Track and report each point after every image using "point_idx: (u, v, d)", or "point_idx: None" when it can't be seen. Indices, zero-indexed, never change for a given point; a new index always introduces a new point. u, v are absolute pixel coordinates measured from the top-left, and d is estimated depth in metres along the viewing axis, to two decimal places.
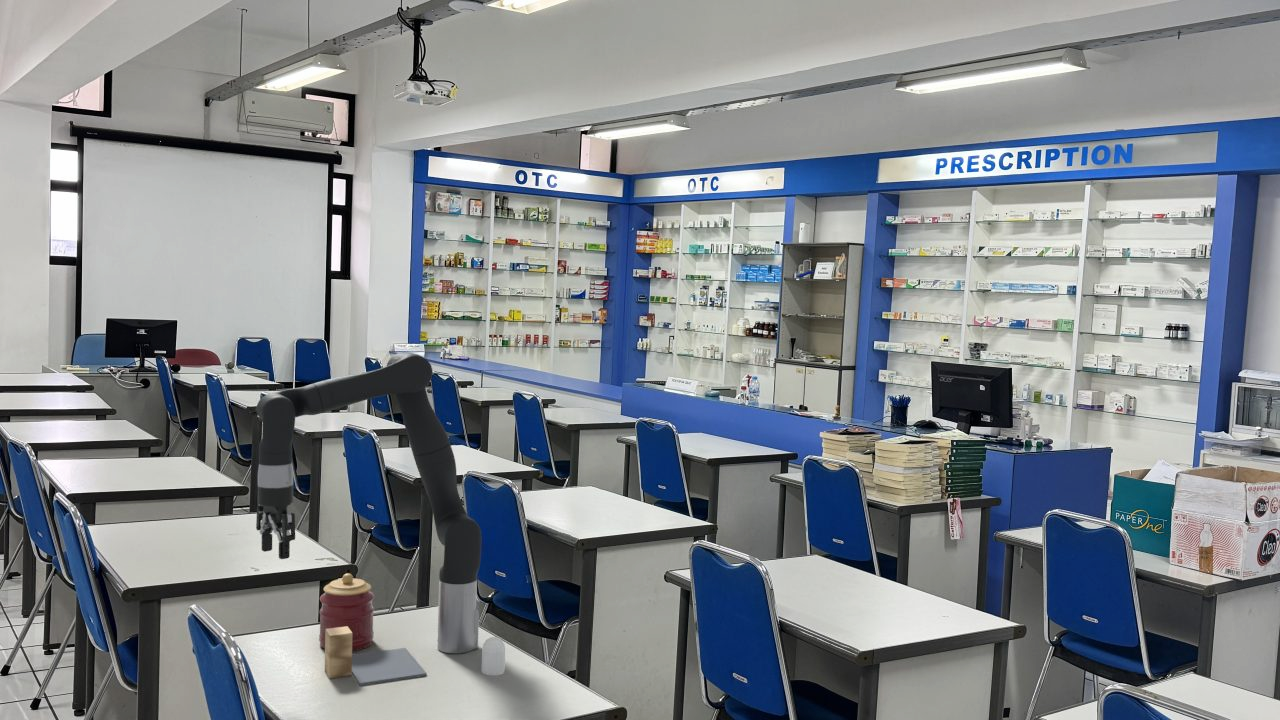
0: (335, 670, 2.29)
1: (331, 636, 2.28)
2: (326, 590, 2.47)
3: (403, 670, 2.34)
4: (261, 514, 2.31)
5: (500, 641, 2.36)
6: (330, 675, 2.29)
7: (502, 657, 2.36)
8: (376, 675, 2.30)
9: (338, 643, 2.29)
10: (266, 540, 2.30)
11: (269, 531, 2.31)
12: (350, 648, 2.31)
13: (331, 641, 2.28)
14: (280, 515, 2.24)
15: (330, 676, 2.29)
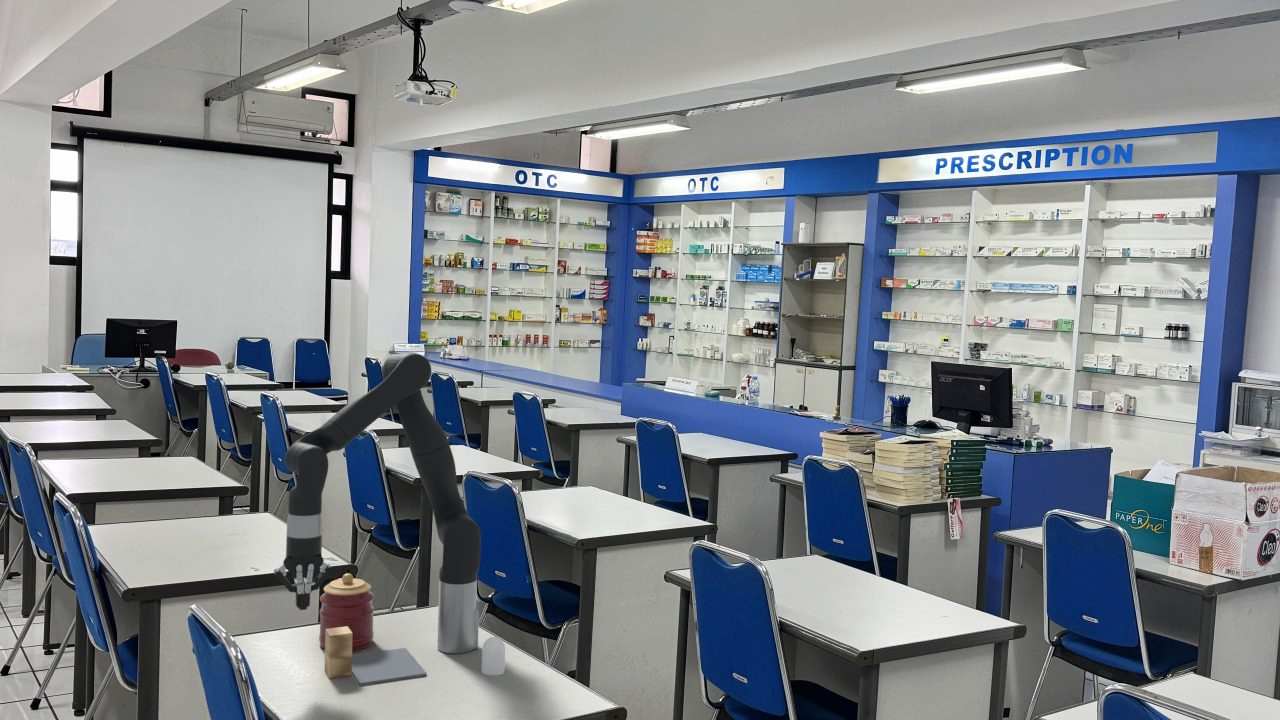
0: (335, 670, 2.29)
1: (331, 636, 2.28)
2: (326, 590, 2.47)
3: (403, 670, 2.34)
4: (284, 576, 2.24)
5: (500, 641, 2.36)
6: (330, 675, 2.29)
7: (502, 657, 2.36)
8: (376, 675, 2.30)
9: (338, 643, 2.29)
10: None
11: None
12: (350, 648, 2.31)
13: (331, 641, 2.28)
14: (322, 563, 2.28)
15: (330, 676, 2.29)
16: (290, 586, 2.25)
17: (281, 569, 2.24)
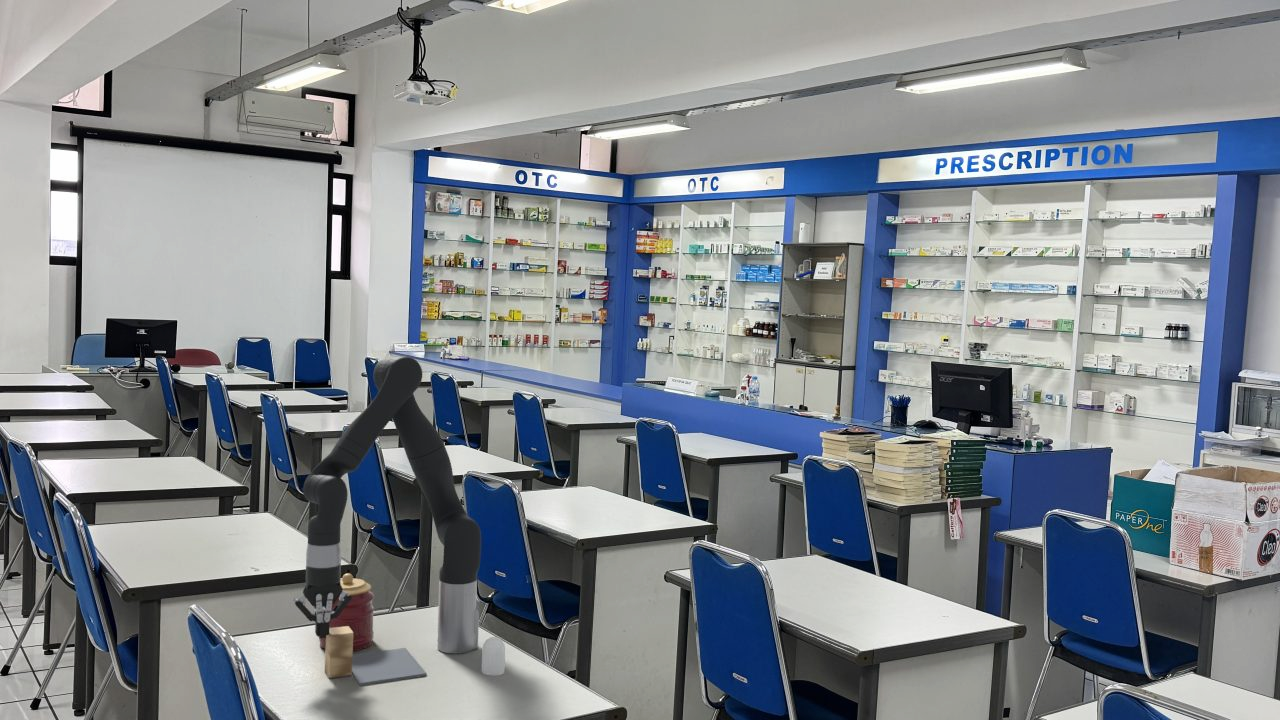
0: (335, 670, 2.29)
1: (332, 635, 2.28)
2: None
3: (403, 670, 2.34)
4: (304, 605, 2.27)
5: (500, 641, 2.36)
6: (330, 675, 2.29)
7: (502, 657, 2.36)
8: (376, 675, 2.30)
9: (339, 643, 2.29)
10: None
11: None
12: (351, 648, 2.31)
13: (332, 640, 2.28)
14: (341, 592, 2.30)
15: (330, 676, 2.29)
16: (310, 615, 2.27)
17: (301, 598, 2.27)
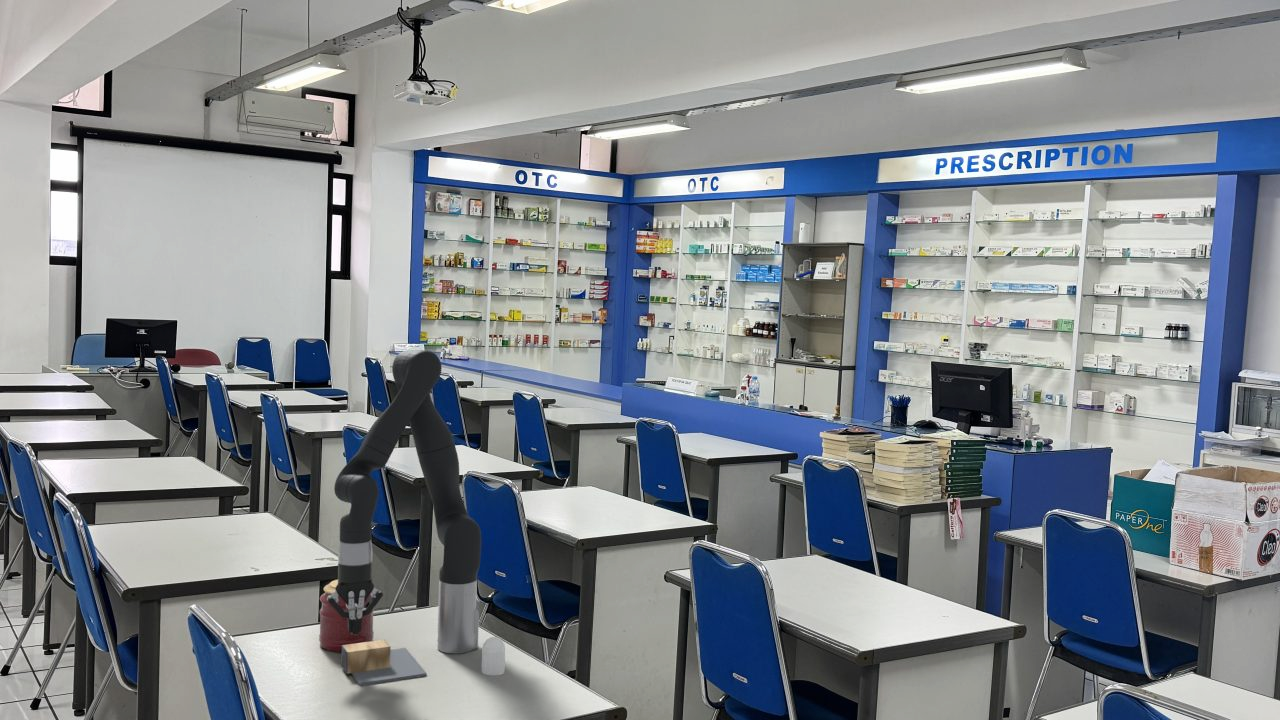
0: (354, 657, 2.31)
1: (389, 648, 2.35)
2: (326, 590, 2.47)
3: (403, 670, 2.34)
4: None
5: (500, 641, 2.36)
6: (350, 653, 2.31)
7: (502, 657, 2.36)
8: (376, 675, 2.30)
9: (381, 655, 2.34)
10: None
11: None
12: (374, 668, 2.34)
13: (384, 648, 2.34)
14: (372, 589, 2.34)
15: (349, 653, 2.31)
16: (342, 612, 2.30)
17: (333, 595, 2.30)
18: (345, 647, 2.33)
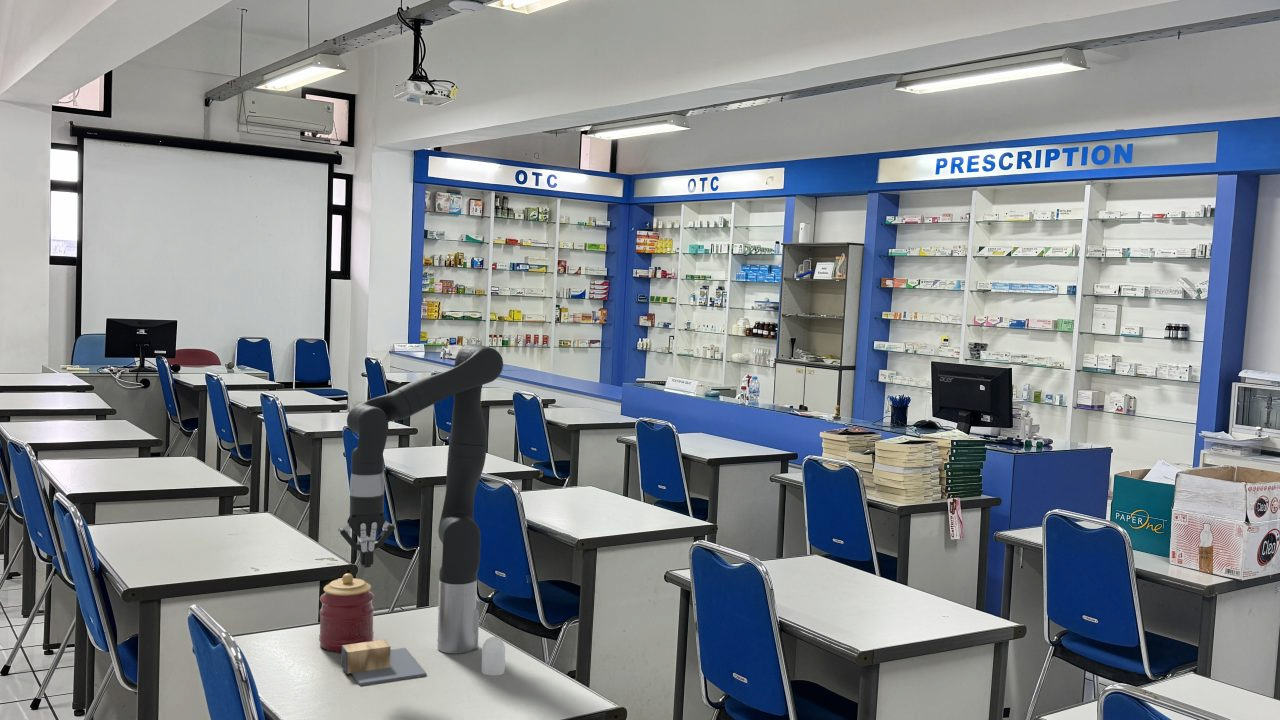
0: (354, 657, 2.31)
1: (389, 648, 2.35)
2: (326, 590, 2.47)
3: (403, 670, 2.34)
4: (349, 534, 2.30)
5: (500, 641, 2.36)
6: (350, 653, 2.31)
7: (502, 657, 2.36)
8: (376, 675, 2.30)
9: (381, 655, 2.34)
10: None
11: None
12: (374, 668, 2.34)
13: (384, 648, 2.34)
14: (384, 522, 2.34)
15: (349, 653, 2.31)
16: (354, 544, 2.30)
17: (345, 528, 2.30)
18: (345, 647, 2.33)
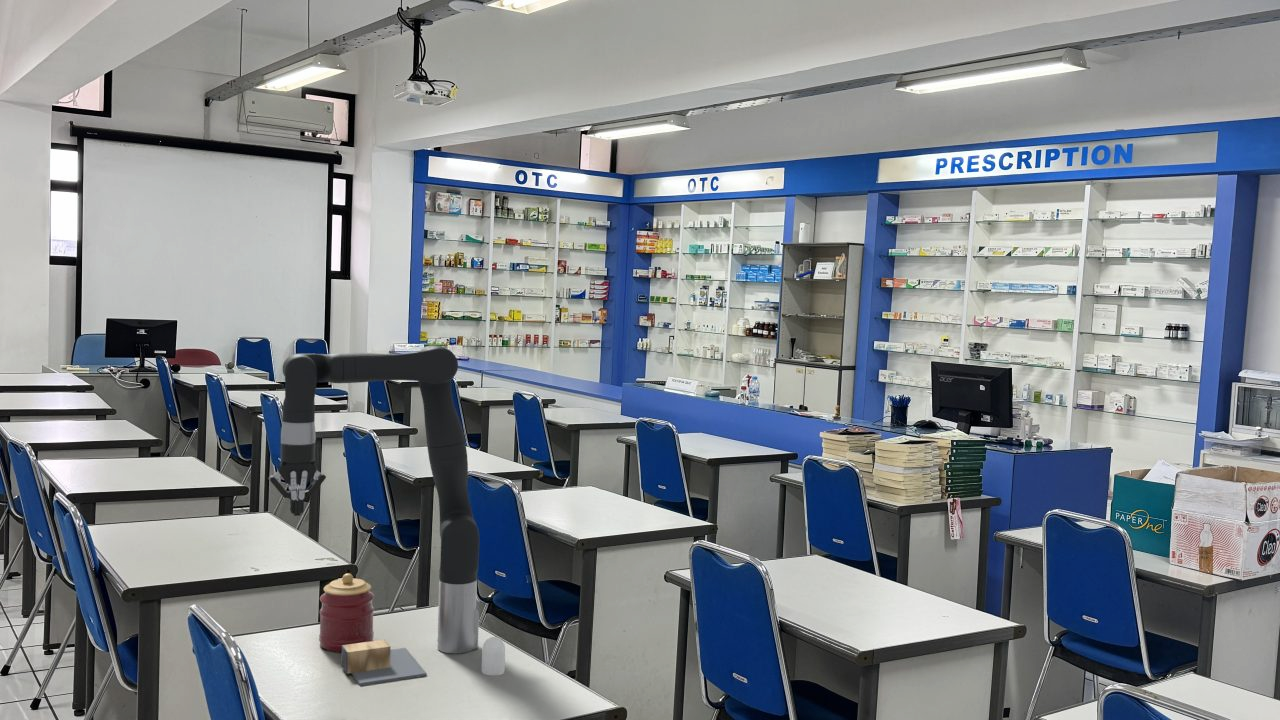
0: (354, 657, 2.31)
1: (389, 648, 2.35)
2: (326, 590, 2.47)
3: (403, 670, 2.34)
4: None
5: (500, 641, 2.36)
6: (350, 653, 2.31)
7: (502, 657, 2.36)
8: (376, 675, 2.30)
9: (381, 655, 2.34)
10: None
11: None
12: (374, 668, 2.34)
13: (384, 648, 2.34)
14: (315, 471, 2.35)
15: (349, 653, 2.31)
16: (284, 492, 2.32)
17: (276, 475, 2.31)
18: (345, 647, 2.33)
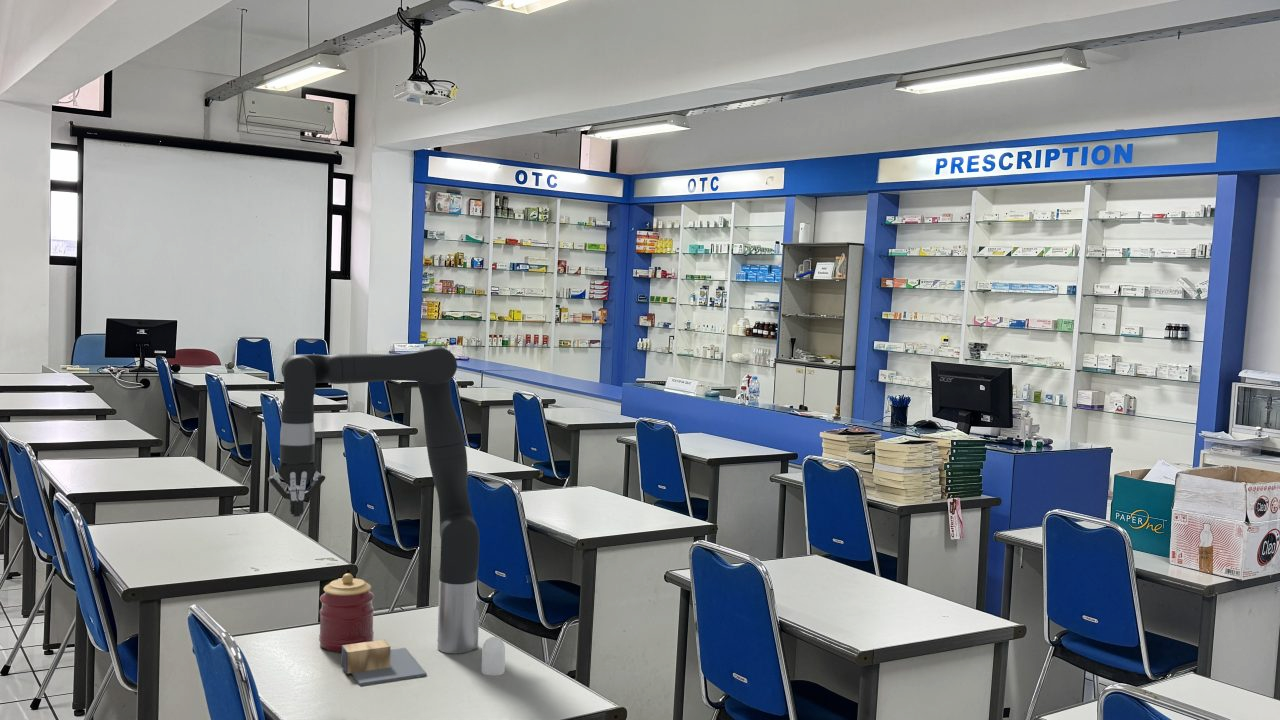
0: (354, 657, 2.31)
1: (389, 648, 2.35)
2: (326, 590, 2.47)
3: (403, 670, 2.34)
4: (278, 483, 2.32)
5: (500, 641, 2.36)
6: (350, 653, 2.31)
7: (502, 657, 2.36)
8: (376, 675, 2.30)
9: (381, 655, 2.34)
10: None
11: None
12: (374, 668, 2.34)
13: (384, 648, 2.34)
14: (315, 472, 2.35)
15: (349, 653, 2.31)
16: (284, 493, 2.32)
17: (275, 476, 2.32)
18: (345, 647, 2.33)
